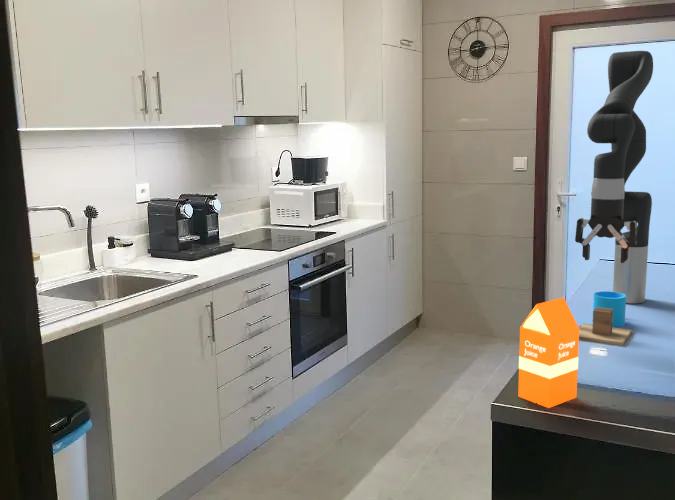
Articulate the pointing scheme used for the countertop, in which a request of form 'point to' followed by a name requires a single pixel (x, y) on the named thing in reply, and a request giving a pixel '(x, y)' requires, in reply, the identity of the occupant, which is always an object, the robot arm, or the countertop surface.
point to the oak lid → (603, 329)
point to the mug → (612, 305)
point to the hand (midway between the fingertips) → (604, 261)
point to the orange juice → (549, 354)
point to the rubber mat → (614, 344)
